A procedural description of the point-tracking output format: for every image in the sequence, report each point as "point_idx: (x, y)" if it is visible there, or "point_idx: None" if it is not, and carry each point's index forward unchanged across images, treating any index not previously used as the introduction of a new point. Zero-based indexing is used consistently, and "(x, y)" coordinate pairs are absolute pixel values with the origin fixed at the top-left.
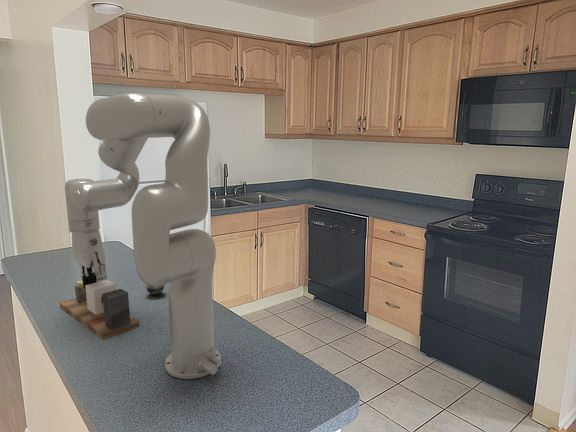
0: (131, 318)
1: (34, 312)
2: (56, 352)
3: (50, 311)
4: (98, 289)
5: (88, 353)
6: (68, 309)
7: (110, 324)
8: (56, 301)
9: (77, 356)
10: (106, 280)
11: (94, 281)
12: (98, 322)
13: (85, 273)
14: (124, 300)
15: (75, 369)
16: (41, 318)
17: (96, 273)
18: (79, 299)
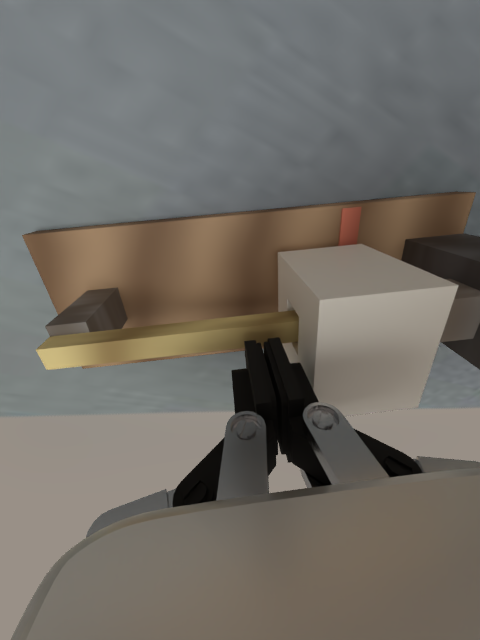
0: (428, 207)
1: (93, 414)
2: None
3: (111, 383)
4: (421, 382)
5: (445, 364)
6: (166, 358)
7: None
8: (18, 355)
9: (433, 384)
10: (333, 307)
11: (306, 379)
12: None
13: (310, 479)
14: None
15: (474, 396)
16: (154, 407)
17: (338, 411)
18: (122, 324)
